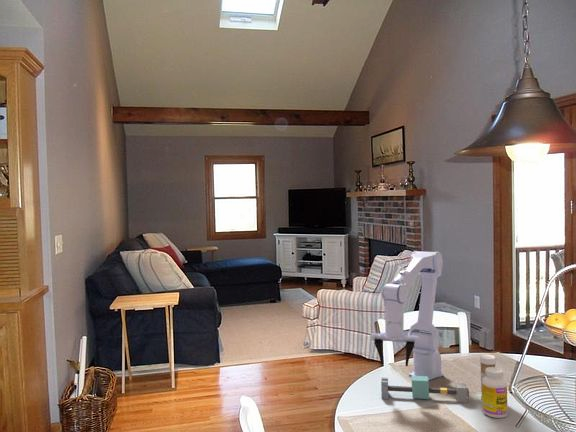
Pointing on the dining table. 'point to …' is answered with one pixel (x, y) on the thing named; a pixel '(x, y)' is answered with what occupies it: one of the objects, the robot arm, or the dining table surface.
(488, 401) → the supplement bottle
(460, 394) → the grey cube
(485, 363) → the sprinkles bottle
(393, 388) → the shaft
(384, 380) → the grey notched jaw block
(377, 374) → the dining table surface
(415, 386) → the sleeve
